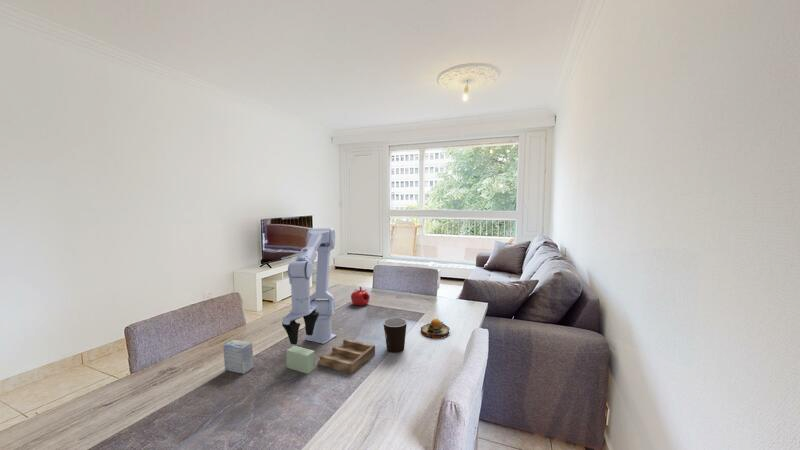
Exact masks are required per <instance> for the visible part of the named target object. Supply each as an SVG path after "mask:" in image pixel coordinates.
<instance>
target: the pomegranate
mask: <svg viewBox="0 0 800 450" xmlns="http://www.w3.org/2000/svg"><path fill="white" fill-rule="evenodd" d="M350 300H351V303H352V304H353V305H355V306H358V307H359V306H366V305H368V303H369V301H370V294H369V293H368V289H363V288H362V286H359V289H357V288H355V289H354V290H353V292H352V293H351V296H350Z"/></svg>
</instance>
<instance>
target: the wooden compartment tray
mask: <svg viewBox="0 0 800 450" xmlns="http://www.w3.org/2000/svg"><path fill="white" fill-rule="evenodd" d="M375 354H376V345H374V344H368V343H364V342H360V341H356V340H353V339H352V340H351V339H347V338H344V339H343V342H342V343H341V344H340V345H339V346H332V347H331V351H330V352H328V353H327V354H325V355H323V354H321V355H319V359H318V361H317V365H320V366H323V367H326V368H330V369H333V370H337V371H340V372H344V373H347V374H350V375H352V374H354V373H355V372H356V371H357V370H359V369H360V368H361V367H362V366H363V365H364V364H365V363H366V362H368V361H369V360H370V359H371V358H372V357H373V356H374V355H375Z"/></svg>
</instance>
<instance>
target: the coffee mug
mask: <svg viewBox="0 0 800 450" xmlns="http://www.w3.org/2000/svg"><path fill="white" fill-rule="evenodd" d="M407 321H408V320H406V319H405V318H401V317H390V318H386V319H384V320H383V332H384V338H385V344H386V350H387V352H390V353H393V354H394V353H395V354H396V353H401V352H403V351H404V349H405V344H406V334H407V325H408V323H407Z"/></svg>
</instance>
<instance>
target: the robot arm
mask: <svg viewBox="0 0 800 450" xmlns="http://www.w3.org/2000/svg"><path fill="white" fill-rule="evenodd" d="M306 239H307V244H306V246H304V247H302V248H301V249H300V251H299V252H298V255H297V257H296V258H295V259H294V260H292V261H291V262H289V263H288V267H287V277H288V282H289V284H290V287H291V288H290V289H291V291H290V293H291V294H290V295H291V310H289V313H288V314H287V315H285V316H284V317H282V322H281V324H282V327H283V329H284V330H285V332H286V334H287V336H288V339H289V342H290V343H289V344H290V345H293V346H297V345H298V342H299V340H298V339H299V330H300V326H301V323H299V322H297V320H300V319H301V318H303V321H304V329H305V335H306V337H305V340H306V341H311V342H315V343H319V344H321V345H325V344H326V343H328V342H330V340H333V339H334V338H335V337H337V334H335V333H332V317H333V316H334V314H335V312H336V301H335V296H334V294H332V293H331V292H329V280H330V279H329V275H330V259H331V257H330V256H331V251H333V250H334V249H335V246H336V245H335V244H336V232H335V229H334V228H333V227H328V228H327V227H325V228H324V227H323V228H322V227H317V228H315V227H314V228H313V227H310V228H309V229H307V233H306ZM316 258H317V262H316V263H317V264H316V280H315V292H314V293H312V294H311V287H310V285H311V284H310V283H311V282H310V281H311V277H312V275H313V269H314V265H313V264H314V263H315V260H316Z"/></svg>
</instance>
